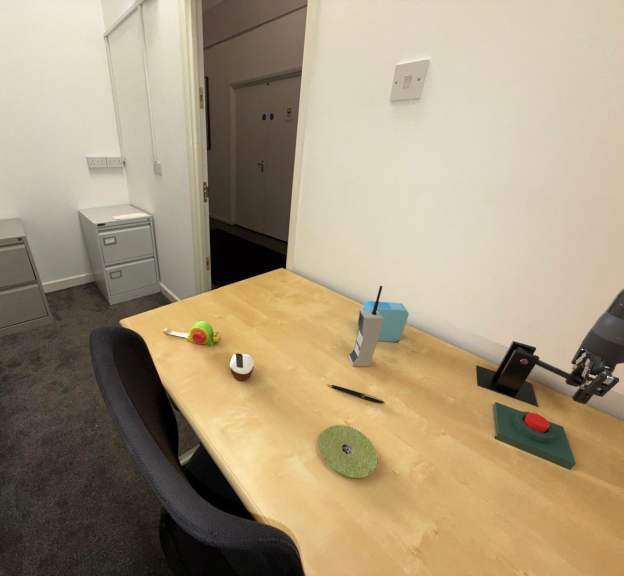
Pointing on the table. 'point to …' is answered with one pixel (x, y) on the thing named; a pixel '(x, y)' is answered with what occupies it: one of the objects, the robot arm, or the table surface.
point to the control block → (532, 436)
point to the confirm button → (536, 422)
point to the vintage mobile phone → (367, 335)
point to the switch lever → (556, 370)
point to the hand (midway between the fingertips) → (574, 392)
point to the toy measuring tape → (198, 334)
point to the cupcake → (241, 366)
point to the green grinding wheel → (348, 451)
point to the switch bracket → (511, 374)
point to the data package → (390, 319)
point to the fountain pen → (357, 394)
